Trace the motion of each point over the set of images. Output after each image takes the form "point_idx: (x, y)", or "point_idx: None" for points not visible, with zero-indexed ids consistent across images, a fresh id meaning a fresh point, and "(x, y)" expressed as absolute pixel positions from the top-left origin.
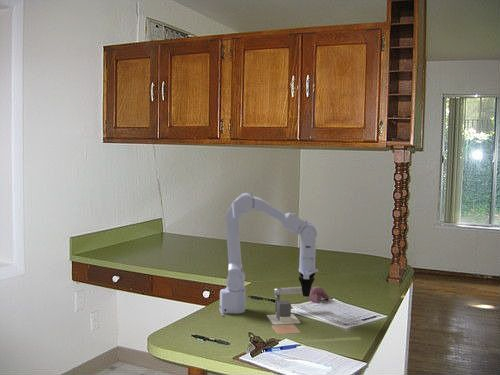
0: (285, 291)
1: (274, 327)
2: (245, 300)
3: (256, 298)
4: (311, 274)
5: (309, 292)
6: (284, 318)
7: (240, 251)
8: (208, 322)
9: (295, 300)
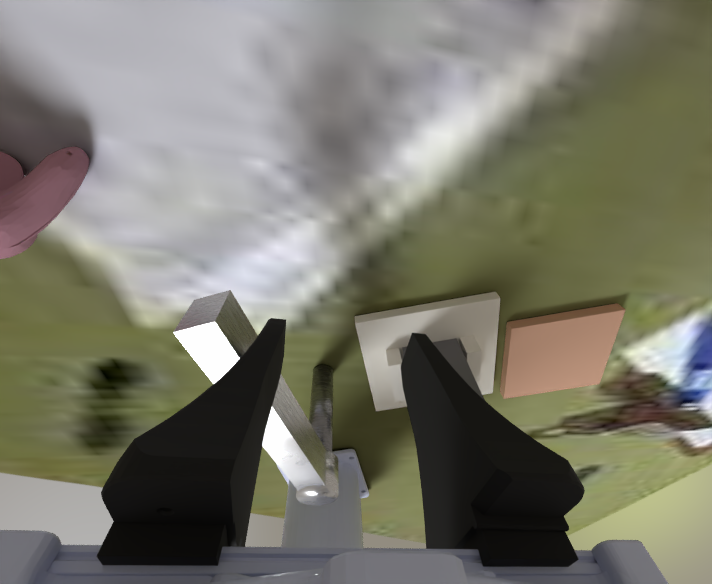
0: (314, 451)
1: (528, 389)
2: None
3: (117, 432)
4: (237, 487)
5: (443, 358)
6: (479, 372)
7: None
8: (419, 506)
9: (50, 287)
